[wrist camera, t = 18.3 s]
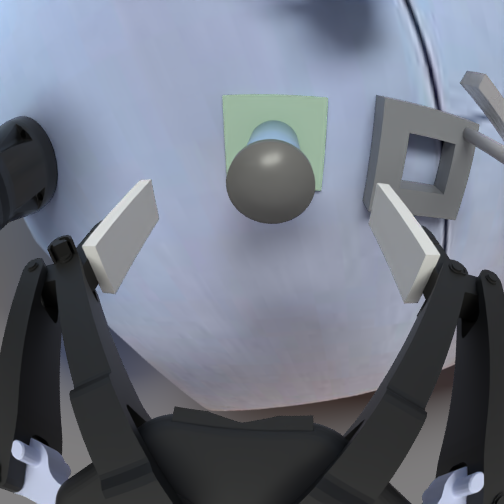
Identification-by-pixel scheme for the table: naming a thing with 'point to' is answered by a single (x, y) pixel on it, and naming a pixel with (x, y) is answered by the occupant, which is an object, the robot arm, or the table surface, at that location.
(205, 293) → the table surface
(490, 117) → the lever
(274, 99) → the mat
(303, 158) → the plug
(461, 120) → the socket
